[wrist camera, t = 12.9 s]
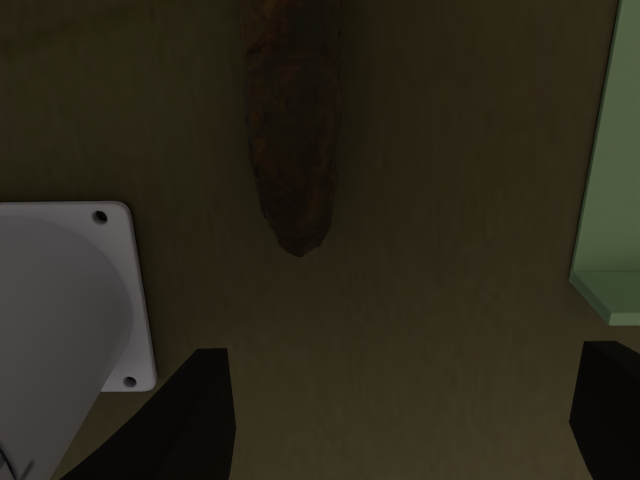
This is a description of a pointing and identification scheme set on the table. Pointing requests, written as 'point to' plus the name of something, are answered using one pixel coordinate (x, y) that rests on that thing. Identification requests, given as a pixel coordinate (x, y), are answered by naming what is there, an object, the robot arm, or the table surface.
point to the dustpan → (614, 186)
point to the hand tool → (293, 113)
